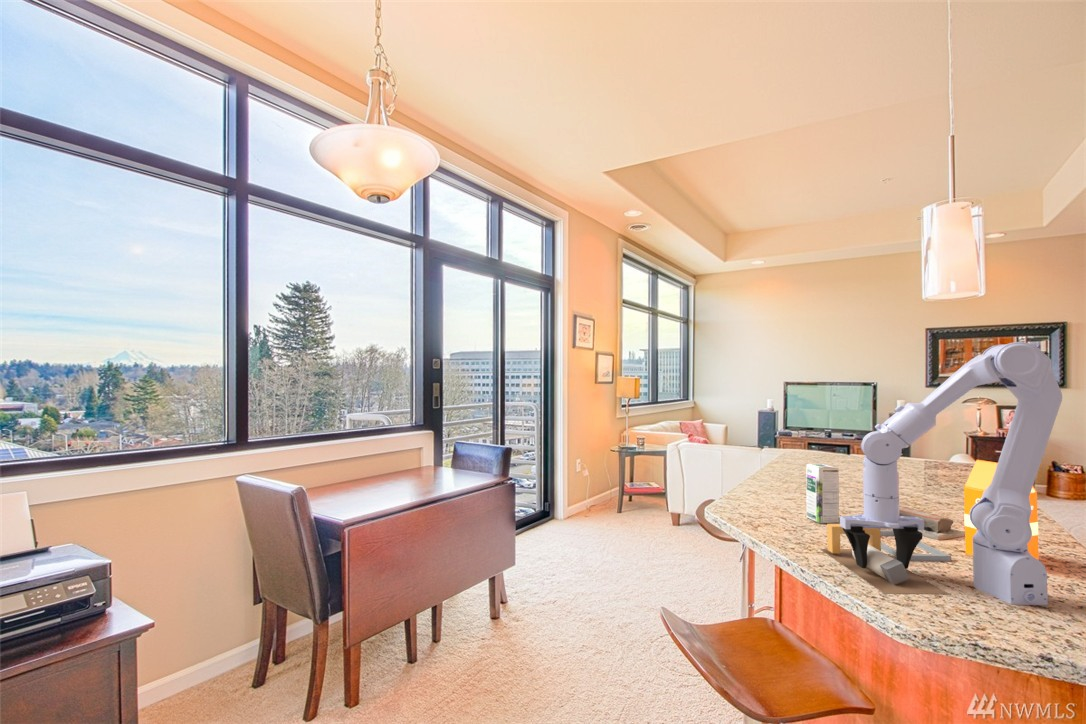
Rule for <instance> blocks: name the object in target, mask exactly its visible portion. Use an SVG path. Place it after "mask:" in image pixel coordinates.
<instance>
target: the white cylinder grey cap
mask: <svg viewBox="0 0 1086 724" xmlns="http://www.w3.org/2000/svg"><path fill="white" fill-rule="evenodd" d="M851 549H852V548H851ZM852 555H853V557H854V559H855V555H854V552H853V549H852ZM855 560H856V559H855ZM867 567H868V568H869V569H871V570H872V571H874V572H875V573H877V574H878V575H880V576H882V577H883V578H885V579H886V580H887V581H889V582H890V583H892V584H893V585H896V584H898V583H900V582H903V581H905V580H907V579H910V578H909V576H908V574H907V571H906V569H905V567H904V565H903V563H902V562H900V561H898V560H897V559H896V558H893V557H892V556H890V555H888V554H886V553H885V552H883V551H882V550H881V551H879V550H878V549H876V548H874V547H872V546H871V545H869V544H868V547H867Z"/></svg>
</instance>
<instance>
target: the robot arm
mask: <svg viewBox="0 0 1086 724" xmlns="http://www.w3.org/2000/svg"><path fill="white" fill-rule="evenodd" d="M1052 362H1053V361H1052V359H1051V358H1050V357H1049V356H1048V355H1047V354H1045V352H1043V351H1042V350H1041V349H1040V348H1038V347H1037V346H1035V345H1034V344H1032V343H1029V342H1026V341H1025V342H1024V341H1015V342H1014V341H1013V342H1009V343H1007V344H1005V343H1003V344H1002V343H1000V344H994V345H992V346H990V347H988V348H986V349H985V350H984V351H983V352H982V354H978V355H976V356H975V357H973V358H971V359H970V360H969V361H967V362H966V363H965V364H963V365H962V366H961V367H960V368H959V369H957V370H956V371H955V372H954V373H953V374H951V375H950V376H949V377H948V378H947V379H946V380H944V382H942V383H941V384H940V385H939V386H938V387H937V388H935V390H933V391H932V392H931V393H930V394H929V395H927V396H926V397H925V398H924V399H922V400H921V402H907V403H906V404H904V405H902V404H899V405H898V406H897V407H895V408H894V410H895V411H896V412H895V413H894V414H893V415H891V416H890V417H888V419H886V420H885V421H884V422H883V423H881V424H880V423H877V424H876V425H874V428H875V429H876V430H874V431H870V432H868V433H866V435H865V436H864V437H863V438H862V441H861V443H860V449H861V451H862V453H863V454H864V456H863V461H862V462H863V464H862V465H863V469H862V487H863V488H862V493H863V494H862V495H863V496H862V497H863V503H862V504H863V513H862V514H856V515H855V514H852V515H844V516H843V515H842V516H839V524H840V526H841V527H842V528H843V531H844V532H845V534H844V535H845V536H846V537H847V539H848V542H849V544H850V545H851V549H853V552H854V555H855V559H856V563H857V565H858V566H860V567H862V568H866V567H867V547H868V542H869V538H870V535H868V534H867V533H865V530H863V528H881V529H884V530H885V529H886V530H887V529H888V530H889V529H890V530H893V532H894V536H893V537H894V541H895V546H896V547H895V550H896V557H895V559H896V560H898V561H900V562H902V563H903V565H904V567H905V569H907V570H909V566H910V562H911V561H910V559H911V556H912V554H914V552H915V549H916V548H917V544H918V543H919V542H920V541H922V540H923V536H922V533H921V532H919V531H918V530H924V520H923V519H920V518H918V517H906V516H899V505H900V483H899V482H900V481H899V480H900V479H899V478H900V473H899V471H898V460H899V459H900V458H901V457H902V451H903V450H902V449H907V448H909V447H910V446H911V445H913V444H915V443H916V442H917V441H918V440H919V439H920V438H922V437H923V436H924V435H926V434H927V433H928V432H929V431H930V430H932V429H933V428H934V427H936V426H937V415H939V413H942V412H943V411H944V410H945V409H946V408H947V407H949V406H951V405H952V404H953V403H956V401H957V400H959V399H961V397H963V396H965V395H966V394H967V393H969V392H970V391H971V390H973V389H974V388H975V387H978V386H982V385H983V386H984V385H987V384H992V383H993V384H994V383H998V382H1000V383H1001V384H1003V385H1004V386H1005V387H1006V388H1007V390H1009V391H1010V393H1012V395H1013V396H1014V397H1015V398H1016V400H1017V404H1016V406H1015V410H1014V412H1013V416H1012V418H1011V422H1010V425H1009V428H1008V431H1007V434H1006V437H1005V440H1004V443H1003V446H1002V449H1001V452H1000V456H999V458H998V461H997V463H998V464H997V467H996V470H995V473H994V476H993V479H992V482H991V484H990V486H989V487H988V488H987V489H986V490H985V491H984V492H983V495H982V497H981V499H980V500H979V501H978V502H977V503H976V504H975V505H973V507H972V508H971V510H970V514H969V516H970V520H971V522H972V524H973V525H974V527H975V528H977V531H976V533H975V535H974V536H973V537H972V539H973V556H972V568H973V569H972V571H973V575H972V577H973V587H974V588H975V589H976V590H978V591H980V592H981V593H985V594H987V595H990V596H993V597H995V598H997V599H998V600H1001V601H1003V602H1005V603H1007V604H1008V605H1016V606H1017V605H1019V606H1021V605H1022V606H1023V605H1024V606H1026V605H1027V606H1048V605H1049V602H1048V599H1049V598H1048V594H1049V593H1048V571H1047V569H1046V567H1045V565H1044V563H1043V562H1042V561H1040V560H1038V559H1036V558H1034V557H1033V556H1032V555H1031V554H1030V552H1029V551H1028V545H1027V544H1028V543H1029V542H1030V540H1031V538H1032V530H1031V526H1030V516H1031V513H1032V510H1031V505H1030V500H1029V496H1030V493H1031V490H1032V487H1033V486H1034V484H1035V481H1036V478H1037V475H1038V472H1039V469H1040V466H1041V463H1042V461H1043V460H1042V459H1043V457H1044V454H1045V453H1046V448H1047V446H1048V442H1049V440H1050V436H1051V433H1052V431H1053V427H1054V425H1055V423H1056V418H1057V416H1058V413H1059V411H1060V407H1061V404H1062V401H1063V392H1062V390H1061V388H1060V386H1059V383H1058V381H1057V378H1056V376H1055V374H1054V371H1053V369H1052V367H1053V365H1052Z"/></svg>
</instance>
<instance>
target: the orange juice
mask: <svg viewBox="0 0 1086 724" xmlns="http://www.w3.org/2000/svg"><path fill="white" fill-rule="evenodd" d="M997 464H998V462H995V461H989V460H988V461H987V460H983V459H976V461H975V463H974V465H973V468H972V470H971V471H970V474H969V476H968V478H967V480H966V481H965V485H963V502H964V503H963V504H964V513H963V515H964V516H963V517H964V532H965V536H964V540H965V542H964V545H965V548H964V550H965V554H966V553H967V554H966V555H968V554H970V555H969V556H971V555H973V539H972V537H973V536H974V535H975V533H976V531H977V528H975V527H974V525H973V524H972V522H971V520H970V516H969V514H970V510H971V508H972V507H973V505H975V504H976V503H977V502H978V501H979V500H980V499H981V497H982V495H983V492H984V491H985V490H986V489H987V488H988V487H989V486H990V484H991V482H992V479H993V476H994V473H995V470H996V467H997ZM1029 500H1030V505H1031V510H1032V513H1031V516H1030V526H1031V530H1032V538H1031V540H1030V542H1029V543H1028V544H1027V545H1028V551H1029V552H1030V554H1031V555H1032V556H1033V557H1034V558H1036V559H1038V560H1039V559H1040V558H1039V521H1038V492H1037V490H1036V488H1035V487H1034V485H1033V487H1032V490H1031V493H1030V496H1029ZM1039 561H1040V560H1039Z"/></svg>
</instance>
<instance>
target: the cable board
mask: <svg viewBox="0 0 1086 724" xmlns="http://www.w3.org/2000/svg"><path fill="white" fill-rule="evenodd" d="M819 550H820V551H822V552H823V553H825V554H826V555H828V556H829V557H830V558H832V559H833V560H834V561H836V562H838V563H839V564H840V565H842V566H843V567H845V568H846V569H848V570H849V571H850V572H852V573H853V574H855V575H856V576H858V577H859V578H861V579H862V580H864V581H865V582H866V583H868V584H869V585H871V586H872V587H874V588H875V589H877V591H880V592H881V593H882V594H883V595H947V596H949V595H951V594H950V593H948V592H947V591H945V590H944V589H942V588H941V587H938V586H937V585H935V584H934V583H931V582H929V581H928V580H926V579H924V578H923V577H921V576H919V575H917V574H916V573H914V572H912V571H910V570H909V569H906V571H907V574H908V576H909V578H910V579H907V580H905V581H903V582H900V583H898V584H896V585H893V584H892V583H890V582H889V581H887V580H886V579H885V578H883V577H882V576H880V575H878V574H877V573H875V572H874V571H872V570H871V569H869V568H868V567H866V568H862V567H860V566H858V565H857V563H856V560H855V559H854V557H853V555H852V548H851V549H850V548H847V549H846V548H840V553H831V552H830V551H828V548H820V549H819Z"/></svg>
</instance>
